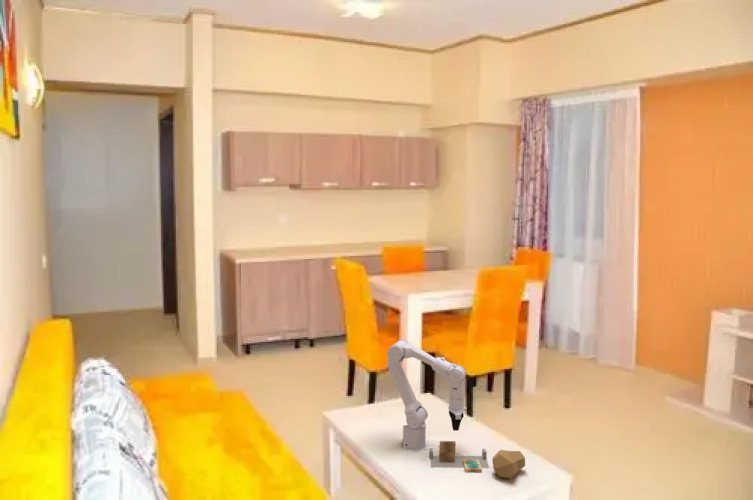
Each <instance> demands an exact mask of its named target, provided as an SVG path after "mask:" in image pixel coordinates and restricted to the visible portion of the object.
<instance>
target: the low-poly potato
mask: <svg viewBox="0 0 753 500" xmlns="http://www.w3.org/2000/svg"><path fill="white" fill-rule="evenodd" d="M525 466H526V458H525V456H524V454H523V453H522V452H521V451H520V450H506V449H505V450H504V449H500V450H499V451H498V452H497V453H496V454H495V455H494V456H493V457H492V468H493V470H494V472H495V473H496V475H497V476H498V478H502V479H503V478H504V479H508V480H509V479H510V480H512V479H513V478H514V477H515V476H516V474H517V473H518V472H520V471H521V470H522V469H523V468H525Z"/></svg>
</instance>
